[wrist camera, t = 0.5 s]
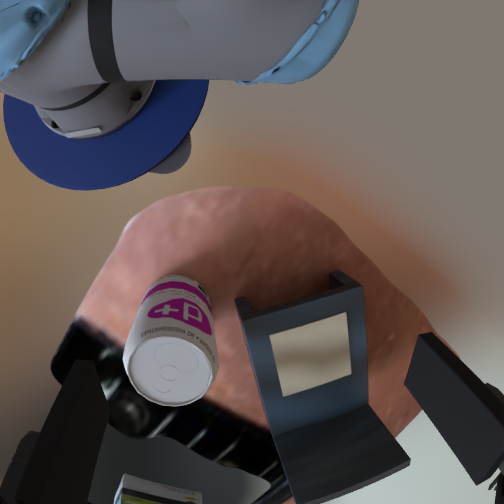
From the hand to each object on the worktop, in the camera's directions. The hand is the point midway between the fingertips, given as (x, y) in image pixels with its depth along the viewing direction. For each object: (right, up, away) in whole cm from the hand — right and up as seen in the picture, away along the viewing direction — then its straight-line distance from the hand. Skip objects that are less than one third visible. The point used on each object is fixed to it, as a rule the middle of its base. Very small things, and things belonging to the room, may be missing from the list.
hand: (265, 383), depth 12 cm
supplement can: (-10, -1, +27) cm, 29 cm away
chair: (+6, -9, +31) cm, 33 cm away
